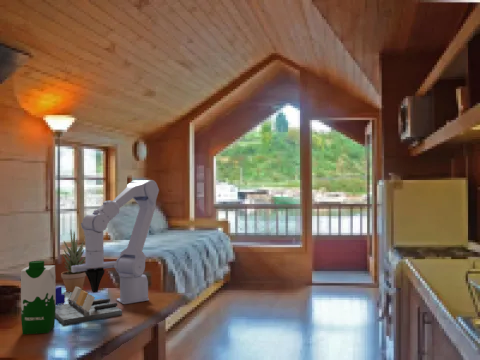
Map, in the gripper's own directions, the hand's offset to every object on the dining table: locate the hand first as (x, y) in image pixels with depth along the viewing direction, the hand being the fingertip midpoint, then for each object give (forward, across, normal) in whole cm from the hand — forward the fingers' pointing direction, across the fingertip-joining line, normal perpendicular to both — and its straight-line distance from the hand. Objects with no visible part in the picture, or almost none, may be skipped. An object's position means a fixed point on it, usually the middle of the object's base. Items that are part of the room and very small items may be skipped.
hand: (94, 291), depth 154 cm
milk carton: (+7, +19, +10) cm, 23 cm away
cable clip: (+7, +10, -22) cm, 26 cm away
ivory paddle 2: (+4, +5, +7) cm, 10 cm away
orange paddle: (+4, +5, 0) cm, 7 cm away
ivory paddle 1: (+4, +5, -7) cm, 10 cm away
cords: (+5, -2, 0) cm, 5 cm away
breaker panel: (+6, +3, 0) cm, 7 cm away
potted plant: (+7, -3, -35) cm, 36 cm away
